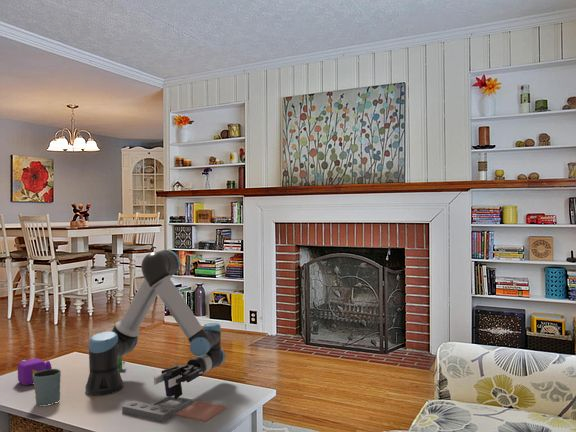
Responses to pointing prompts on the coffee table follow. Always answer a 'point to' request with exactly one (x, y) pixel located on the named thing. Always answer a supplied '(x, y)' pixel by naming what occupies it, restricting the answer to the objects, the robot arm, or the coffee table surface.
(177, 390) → the speaker
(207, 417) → the mat
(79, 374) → the coffee table surface
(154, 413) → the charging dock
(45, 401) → the grey-green cup
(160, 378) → the robot arm
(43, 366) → the toy camera
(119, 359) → the geometric puzzle
